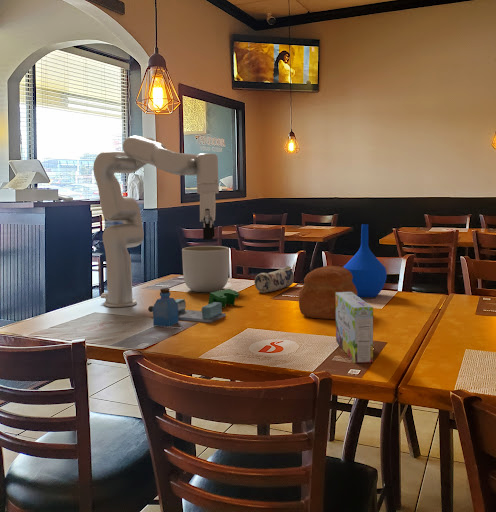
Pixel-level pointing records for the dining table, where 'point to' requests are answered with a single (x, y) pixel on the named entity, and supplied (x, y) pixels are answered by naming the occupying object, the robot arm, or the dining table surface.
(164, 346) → the dining table surface
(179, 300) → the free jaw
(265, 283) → the pencil case
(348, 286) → the bread
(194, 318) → the vise bed
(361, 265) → the vase
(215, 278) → the planter
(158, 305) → the perfume bottle
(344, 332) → the snack box
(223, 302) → the clamp
